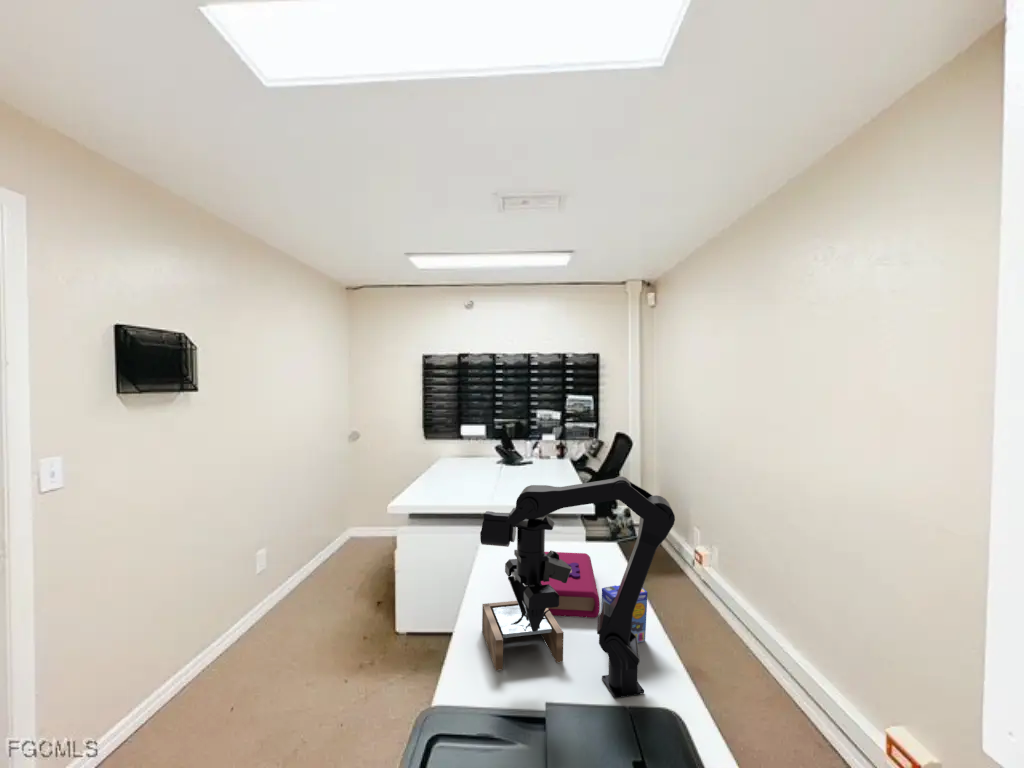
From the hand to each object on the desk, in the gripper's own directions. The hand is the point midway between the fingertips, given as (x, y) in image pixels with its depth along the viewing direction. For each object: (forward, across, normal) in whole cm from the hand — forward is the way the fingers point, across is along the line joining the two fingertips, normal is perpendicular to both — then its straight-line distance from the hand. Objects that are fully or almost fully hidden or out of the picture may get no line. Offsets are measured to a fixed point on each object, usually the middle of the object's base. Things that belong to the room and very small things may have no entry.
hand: (529, 622), depth 103 cm
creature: (+1, 0, 0) cm, 1 cm away
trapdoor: (+5, +11, -1) cm, 12 cm away
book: (+12, +34, -20) cm, 41 cm away
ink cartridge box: (+11, +7, -26) cm, 29 cm away
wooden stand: (+11, +11, -1) cm, 15 cm away
